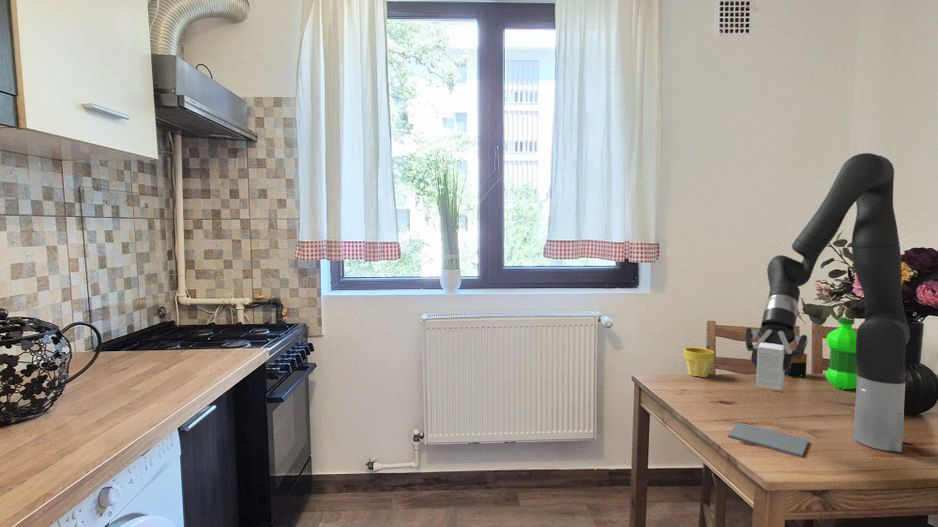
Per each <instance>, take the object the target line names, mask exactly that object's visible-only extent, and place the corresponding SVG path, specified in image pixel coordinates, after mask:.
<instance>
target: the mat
mask: <svg viewBox="0 0 938 527" xmlns="http://www.w3.org/2000/svg"><path fill="white" fill-rule="evenodd" d="M727 437H728V438H731V439H735V440H738V441H742V442H746V443H749V444H754V445H757V446H760V447H763V448H767V449H770V450H775V451H778V452H781V453H782V452H783V453H786V454H789V455H791V456H792V455H793V456H796V457H800V458H803V456H804V455H805V454H804V453H805V451H806V449H807V446H808V444H809V439H806V438H802V437H797V436H794V435H791V434H786V433H782V432H779V431H775V430H774V431H773V430H771V429H766V428H763V427H759V426H754V425H750V424H746V423H742V422H737V424H736V425H735V426H734V428H732V430H731V431H730V432H729V433H728V436H727Z"/></svg>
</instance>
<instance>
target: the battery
mask: <svg viewBox="0 0 938 527" xmlns="http://www.w3.org/2000/svg"><path fill="white" fill-rule="evenodd" d="M791 351H793V350H792V349H791ZM807 359H808V354H807V353H805V352H804V353H803V355H802V358H800V359H798V358H793V359H792V362H791V368H790V369H787V371H784V376H786V375H788V376H801V375H802V376H805V375H806V376H807V363H808V362H807V361H808V360H807ZM788 376H787V377H788Z"/></svg>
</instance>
